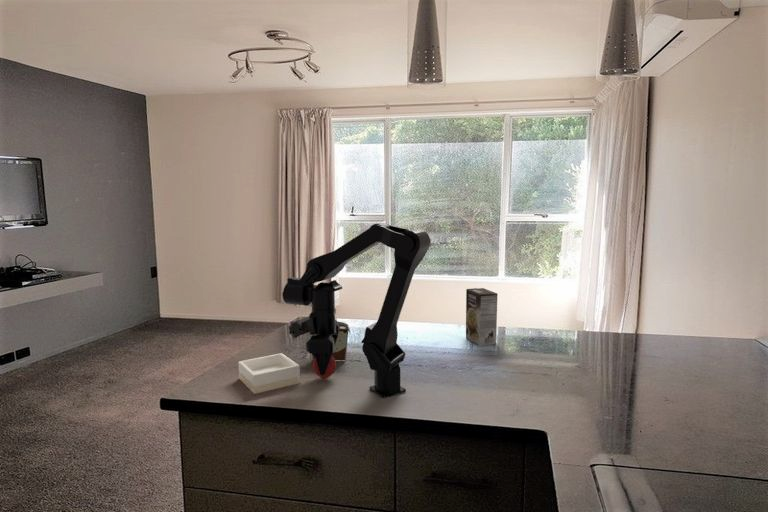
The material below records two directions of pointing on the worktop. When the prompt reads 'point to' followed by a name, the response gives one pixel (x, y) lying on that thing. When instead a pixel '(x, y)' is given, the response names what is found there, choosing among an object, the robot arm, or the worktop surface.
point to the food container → (340, 342)
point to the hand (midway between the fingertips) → (324, 368)
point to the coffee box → (481, 316)
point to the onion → (330, 368)
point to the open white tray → (269, 372)
